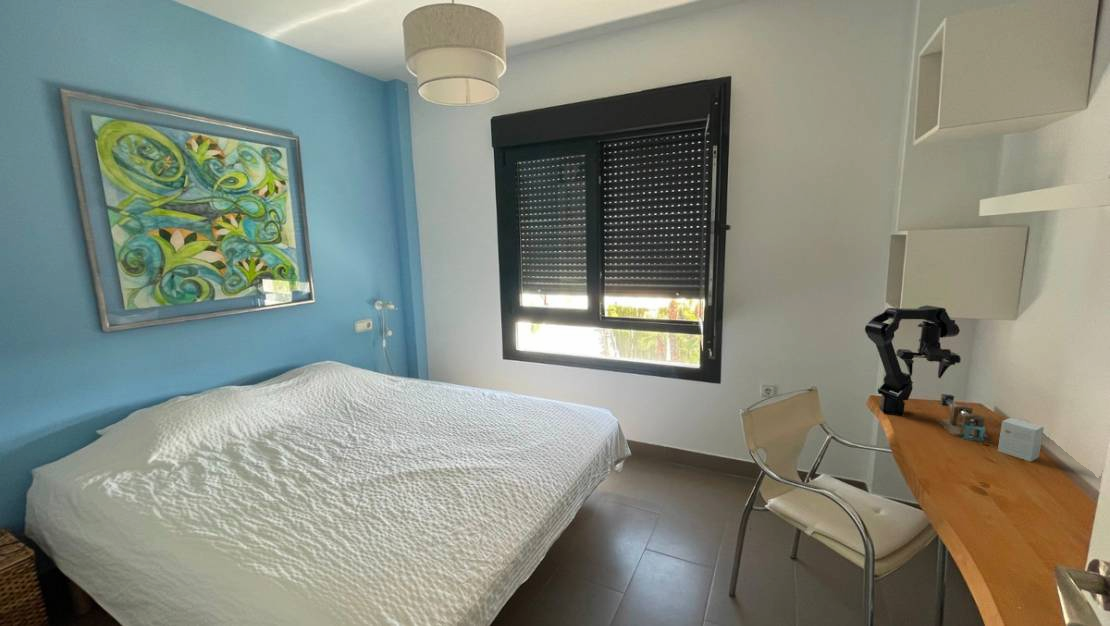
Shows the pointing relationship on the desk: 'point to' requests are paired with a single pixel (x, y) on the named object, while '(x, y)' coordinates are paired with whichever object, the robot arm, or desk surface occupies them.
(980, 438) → the teal spacer
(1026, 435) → the small box
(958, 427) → the bearing stand
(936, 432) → the desk surface
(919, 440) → the desk surface
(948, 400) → the steel shaft
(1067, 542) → the desk surface
